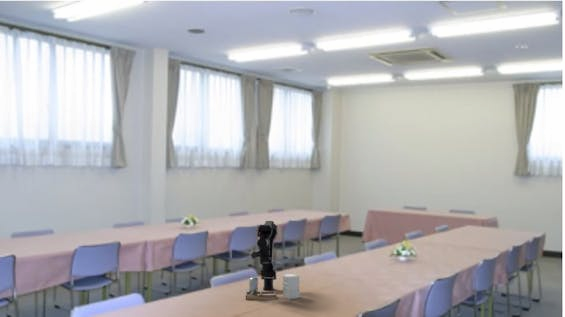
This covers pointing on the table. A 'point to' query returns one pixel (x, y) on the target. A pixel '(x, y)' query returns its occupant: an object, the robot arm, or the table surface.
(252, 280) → the grey metal cylinder
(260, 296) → the wooden divided tray
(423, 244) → the table surface
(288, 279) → the supplement box
